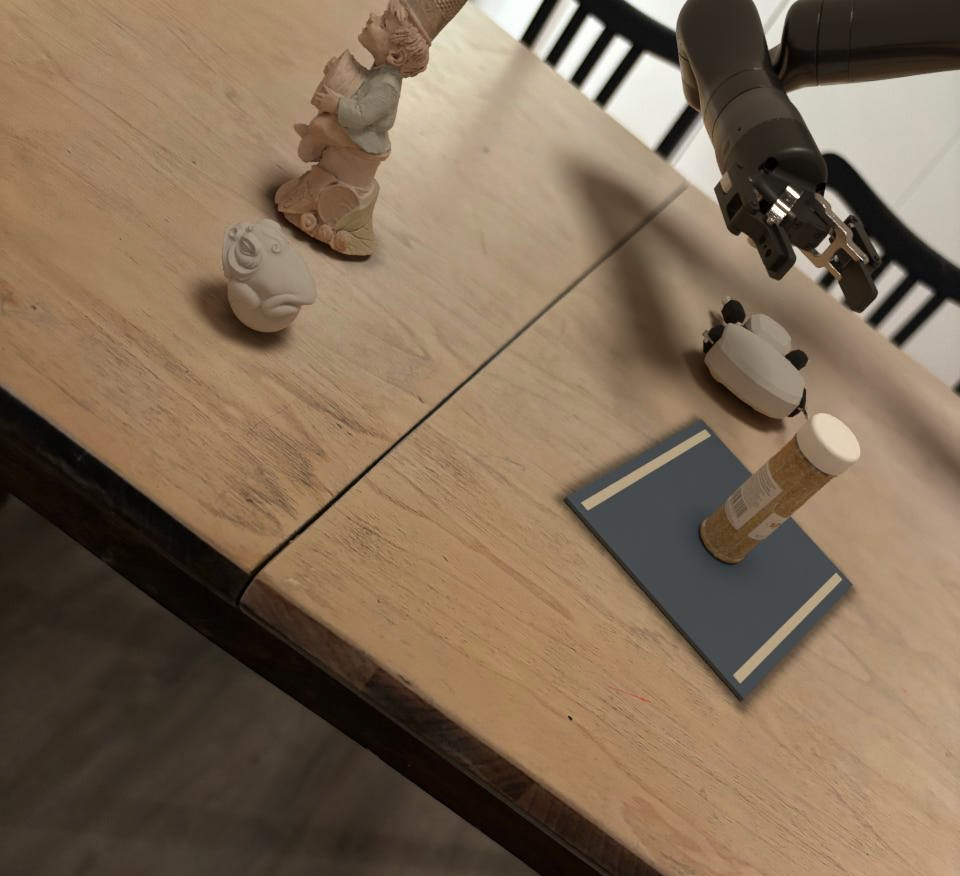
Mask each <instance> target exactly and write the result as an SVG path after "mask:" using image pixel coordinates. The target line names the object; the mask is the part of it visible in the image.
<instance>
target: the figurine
mask: <svg viewBox="0 0 960 876" xmlns="http://www.w3.org/2000/svg"><path fill="white" fill-rule="evenodd" d="M468 1H469V0H388V1H387V5H386V9H384V10H383V14H382V15H377V14H375V13H374V12H372V11H371V12H370V13H369V17H368V19H367V21H366V22H365V27H363V28H362V29H361V33H359V34H358V35H357V41H358V42H359V43H360V45H361V46H362V47H363V48H364V49H366V50H367V51H368V52H369V53H370V54H371V56H372V58H373V63H372V65H371V67H370V68H369V69H368V68H367V67H366V66H364V65H362V64H361V63H360V62H359V61H358V60H357V59H356V58H355V56H354V54H352V53H351V52H350V49H349V48H346V49H345V50H344V51H343V52H342V53H341V54H340V55H339V56H338V57H337V56H332V57H331V58H330V59H329V60H328V61H327V63H326V64H325V65H324V69H323V71H322V72H323V75H324V76H323V78H322V79H321V81H320V82H319V84H318V85H317V87H316V89H315V90H314V93H313V95H312V97H311V99H310V104H311V105H312V106H314V107H315V108H316V109H317V113H316V114H317V115H316V116H314V117H313V118H312V119H311V120H310V121H309V123H308V124H306V123H301V122H300V123H294V124H293V130H294V132H295V133H296V134H297V135H298V136H299V137H300V138H301V140H299V144H298V146H297V157H298V158H299V159H300V161H301V162H303V163H305V164H308V163H315V164H311V165H310V168H311V169H307V170H306V171H305V172H304V173H302V174H301V175H300V176H298V177H294V178H292V179H290V180H288V181H285V183H283V184H282V185H281V186H280V187H278V189H277V191H276V193H275V196H274V203H275V205H277V211H278V212H279V213H282V214H284V215H283V216H284V218H285V219H286V220H287V221H288V222H290V223H291V224H292V225H294V226H295V227H297V228H299V229H300V230H301V231H302V232H304V233H305V234H307V235H309V236H310V237H312V238H315V239H316V240H317V241H318V240H319V241H320V242H322V243H325V244H326V245H329V246H330V248H331V249H332V250H333V251H336V252H338V253H340V254H343V255H348V256H351V255H352V256H371V255H372V254H373V253H375V251H376V248H377V241H376V237H375V234H374V228H373V227H374V226H373V213H374V209H375V206H376V203H377V200H378V196H379V195H380V190H381V186H380V184H379V182H378V180H377V179H376V178H375V176H376V173H377V171H378V168H379V166H380V165H381V163H382V162H385V161H387V159H388V158H389V157H390V155H391V153H392V142H391V140H390V135H389V131H390V130H391V129H392V128H394V125H395V122H396V119H397V113H398V107H399V104H400V98H401V92H402V87H403V86H402V85H403V80H404V79H409V78H414V77H417V76H418V75H419V74H421V73H424V72H426V70H427V69H428V65H429V61H430V48H431V47H432V44H433V43H432V42H433V41H434V40H435V39H436V38H437V36H438V35H439V34H440V33H441V32H442V31H443V29H445V27H446V26H447V25H448V24H449V23H451V21H452V20H454V18H455V17H456V16H457V15H458V13H459V12H461V10H462V9H463V8H464V7H465V5H466V4H467V2H468Z"/></svg>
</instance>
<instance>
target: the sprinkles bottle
mask: <svg viewBox="0 0 960 876" xmlns="http://www.w3.org/2000/svg"><path fill="white" fill-rule="evenodd" d="M860 458H861V446H860V443H859V441H858V439H857V437H856V436H855V434H854V432H852V431H851V429H850V427H848V426H847V425H846V424H845V423H844V422H843V421H842V420H840V419H838V418H837V417H835V416H834V415H831V414H829V413H825V412H819V413H815V414H814V415H812V416H810V418H809V419H808V420H806V421H805V422H804V424H803V425H801V426H800V427H799V428H798V430H797V431H796V432H795V434H794V435H793V437H792V438H791V439H790V440H789V441H788V442H787V443H786V444H784V446H783V447H781V448H780V450H778V451H777V452H776V453H775V454H774V455H773V456H771V457H770V458H769V459H768V460H766V461H765V462H764V464H762V465H761V466H760V467H759V468H758V469H757V470H756V471H755V472H754V473H753V474H752V476H751V477H750V478H749V479H748V480H747V481H746V482H745V483H744V484H742V485H741V486H740V487H739V488H738V489H737V490H736V491H735V492H734V493H733V494H732V495H731V496H730V497H729V498H728V499H727V501H726V502H725V503H724V504H723V505H722V506H721V507H720V508H719V509H718V510H717V511H716V512H715V513H714V514H713V515H712V516H711V517H708V518H706V519H705V520H704V521H703V522H702V524H701V526H700V533H701V538H702V540H703V542H704V544H705V546H706V548H707V549H708V550H709V551H710V552H711V553H712V554H713V555H714V556H715V557H716V558H719V559H720V560H721V561H725V562H728V563H737V562H740V561H741V560H742V559H744V558H745V555H746V554H747V553H748V552H749V551H751V550H752V549H753V548H754V547H755V546H756V545H757V544H759V543H760V542H761V541H762V540H763V539H765V538H766V537H768V536H769V535H770V534H771V533H772V532H773V531H774V530H776V529H777V528H778V527H779V526H780V525H781V524H782V523H783V522H784V521H786V520H787V519H788V518H789V517H790V516H791V517H792V515H794V514H795V513H796V512H797V511H798V510H800V508H802V507H803V506H804V505H805V504H806V503H807V502H809V500H810V499H811V498H813V496H815V494H817V493H818V492H819V491H820V490H822V489H823V488H824V486H826V485H827V484H828V483H829V482H831V480H833V479H834V478H837V477H838V476H841V475H843V474H844V473H845V472H846V471H848V470H849V469H850V468H851V467H852V466H853V465H855V464H856V463H857V462H858V461H859V459H860Z"/></svg>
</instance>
